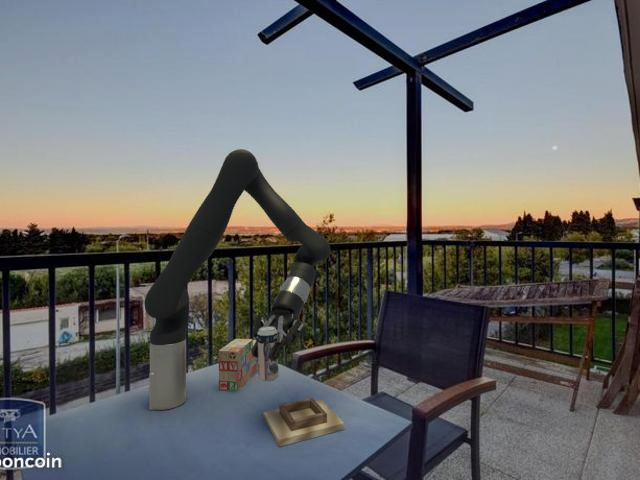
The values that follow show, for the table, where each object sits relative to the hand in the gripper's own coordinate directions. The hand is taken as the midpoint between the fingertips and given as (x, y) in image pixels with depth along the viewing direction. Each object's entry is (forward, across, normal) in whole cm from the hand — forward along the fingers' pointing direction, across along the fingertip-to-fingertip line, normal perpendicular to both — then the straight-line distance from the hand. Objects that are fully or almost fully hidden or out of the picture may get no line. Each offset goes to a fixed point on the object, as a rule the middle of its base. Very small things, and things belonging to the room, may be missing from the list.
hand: (263, 357), depth 78 cm
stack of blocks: (-2, -28, +27) cm, 39 cm away
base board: (+7, +6, +18) cm, 20 cm away
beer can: (+3, 0, +5) cm, 6 cm away
